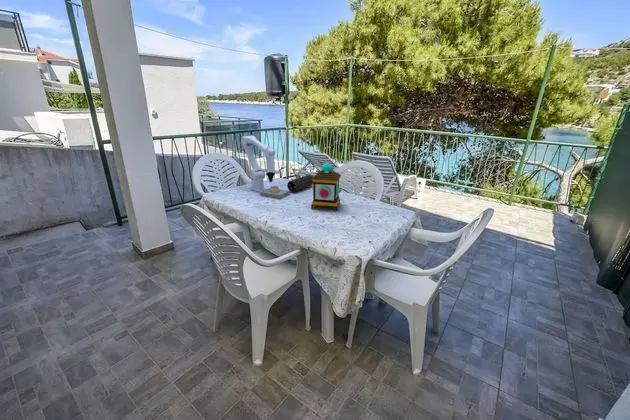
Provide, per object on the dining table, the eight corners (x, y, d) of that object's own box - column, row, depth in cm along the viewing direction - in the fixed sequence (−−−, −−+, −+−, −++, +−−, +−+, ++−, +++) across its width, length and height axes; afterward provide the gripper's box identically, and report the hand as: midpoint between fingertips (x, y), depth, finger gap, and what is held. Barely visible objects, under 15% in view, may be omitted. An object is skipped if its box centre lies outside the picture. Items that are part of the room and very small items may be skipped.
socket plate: (260, 195, 211) (260, 192, 210) (271, 191, 222) (270, 187, 221) (279, 199, 203) (279, 195, 202) (290, 194, 215) (290, 190, 214)
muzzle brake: (286, 192, 221) (286, 179, 217) (306, 184, 243) (306, 173, 240) (296, 194, 216) (296, 181, 213) (315, 186, 238) (315, 174, 235)
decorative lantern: (338, 212, 179) (340, 166, 169) (308, 210, 183) (309, 164, 173) (341, 202, 198) (344, 160, 187) (314, 200, 201) (315, 159, 191)
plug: (271, 195, 212) (270, 186, 209) (274, 194, 215) (274, 185, 213) (275, 196, 210) (275, 187, 208) (278, 195, 213) (278, 186, 211)
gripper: (259, 164, 208) (260, 181, 213) (275, 166, 202) (275, 184, 207) (264, 162, 214) (265, 179, 219) (280, 164, 208) (281, 182, 213)
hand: (270, 181), depth 213 cm, fingers closed
